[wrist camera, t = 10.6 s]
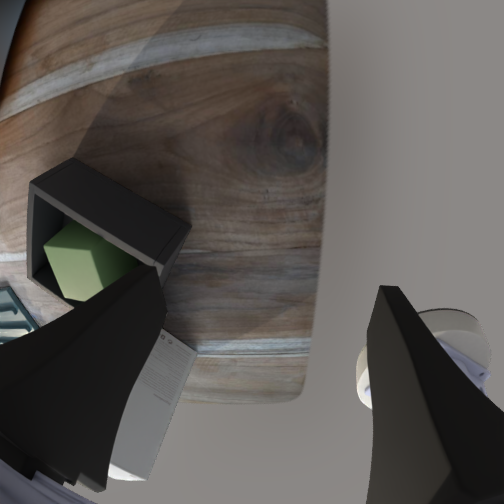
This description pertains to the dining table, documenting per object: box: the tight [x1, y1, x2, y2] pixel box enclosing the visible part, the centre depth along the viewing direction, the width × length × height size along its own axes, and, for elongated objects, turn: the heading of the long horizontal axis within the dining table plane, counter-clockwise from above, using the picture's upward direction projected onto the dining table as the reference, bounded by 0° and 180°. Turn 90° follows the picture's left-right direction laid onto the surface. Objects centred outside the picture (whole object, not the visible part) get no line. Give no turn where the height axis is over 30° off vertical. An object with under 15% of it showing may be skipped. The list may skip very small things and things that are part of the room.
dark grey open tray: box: [27, 158, 192, 310], centre depth 20 cm, size 10×9×4 cm
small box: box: [108, 329, 197, 481], centre depth 23 cm, size 8×6×13 cm
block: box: [44, 220, 138, 302], centre depth 20 cm, size 4×4×4 cm
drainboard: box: [0, 287, 39, 344], centre depth 35 cm, size 20×12×1 cm, turn 109°
